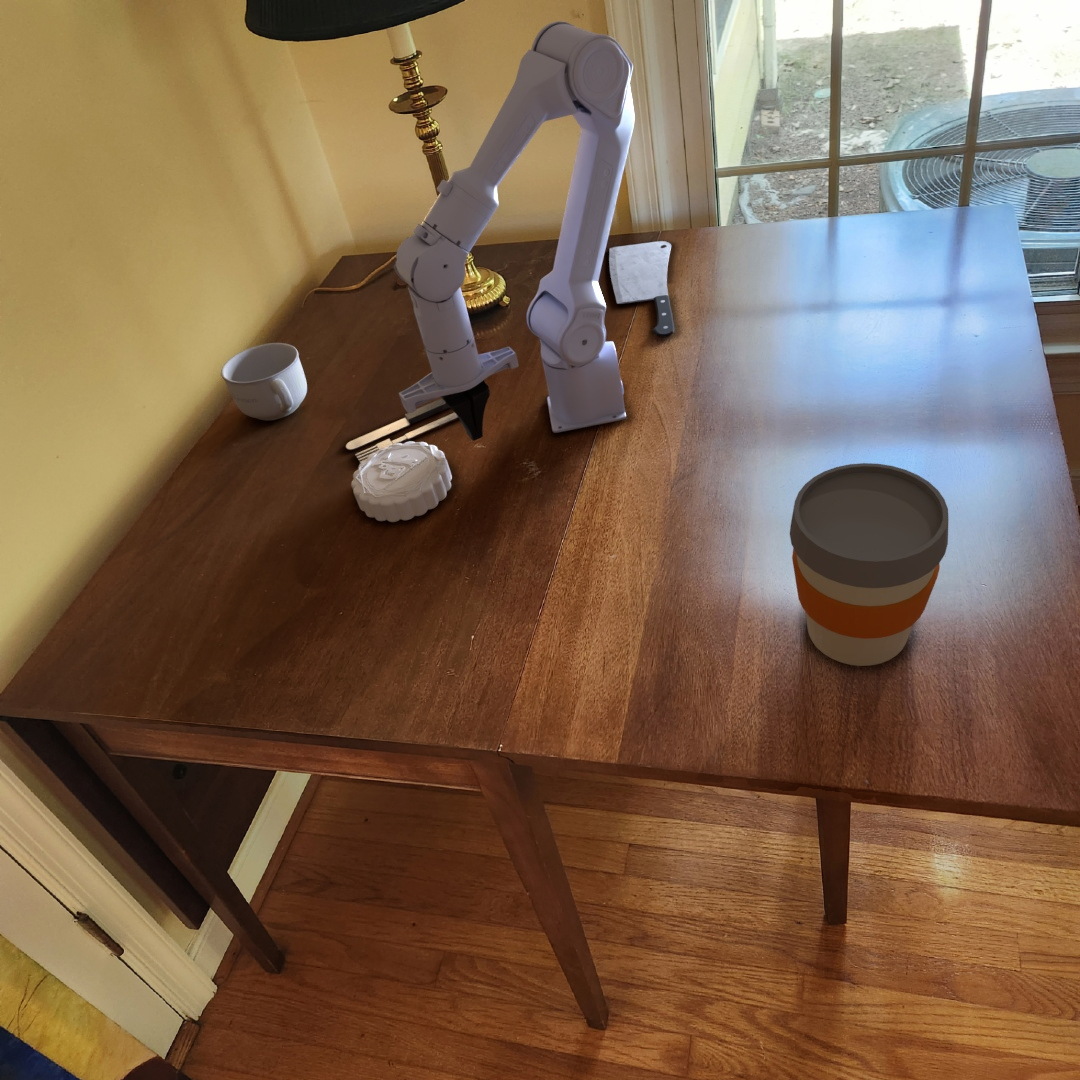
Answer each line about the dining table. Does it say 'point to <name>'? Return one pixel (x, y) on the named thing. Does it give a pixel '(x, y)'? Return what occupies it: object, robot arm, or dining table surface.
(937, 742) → the dining table surface
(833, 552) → the reusable coffee cup
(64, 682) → the dining table surface
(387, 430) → the knife
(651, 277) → the cleaver
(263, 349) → the teacup
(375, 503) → the mooncake
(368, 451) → the fork
